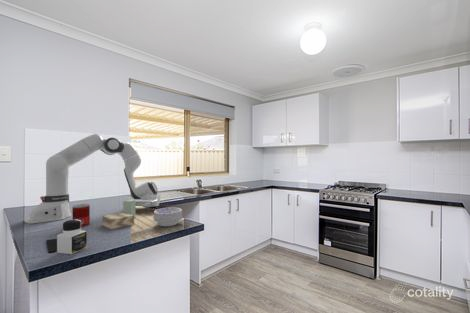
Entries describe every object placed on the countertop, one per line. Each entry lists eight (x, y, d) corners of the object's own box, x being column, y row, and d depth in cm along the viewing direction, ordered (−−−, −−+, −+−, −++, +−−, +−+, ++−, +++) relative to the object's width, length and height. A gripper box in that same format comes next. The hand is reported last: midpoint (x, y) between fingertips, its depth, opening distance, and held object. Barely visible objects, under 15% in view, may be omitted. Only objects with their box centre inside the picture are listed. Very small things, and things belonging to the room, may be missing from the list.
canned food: (92, 223, 134) (92, 204, 134) (79, 227, 126) (79, 207, 126) (82, 222, 136) (82, 203, 136) (69, 226, 128) (69, 206, 129)
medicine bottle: (72, 254, 91) (71, 223, 91) (56, 253, 92) (56, 222, 92) (87, 247, 98) (87, 218, 98) (72, 246, 99) (72, 217, 99)
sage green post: (123, 219, 142) (123, 201, 142) (127, 217, 147) (127, 199, 147) (131, 219, 142) (131, 201, 142) (135, 217, 147) (135, 199, 147)
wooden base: (110, 229, 123) (110, 219, 123) (102, 224, 131) (102, 215, 131) (133, 224, 131) (133, 215, 131) (124, 220, 140) (124, 212, 140)
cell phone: (48, 254, 92) (48, 252, 92) (46, 242, 106) (46, 240, 106) (75, 248, 98) (75, 246, 98) (70, 237, 111) (70, 235, 111)
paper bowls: (167, 230, 121) (167, 214, 121) (147, 225, 129) (147, 211, 129) (188, 222, 134) (187, 208, 134) (169, 219, 142) (169, 206, 142)
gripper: (133, 196, 170) (122, 200, 156) (161, 196, 168) (152, 200, 155) (133, 205, 170) (122, 209, 156) (161, 205, 168) (152, 210, 155)
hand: (137, 205), depth 155 cm, fingers open, 8 cm apart
